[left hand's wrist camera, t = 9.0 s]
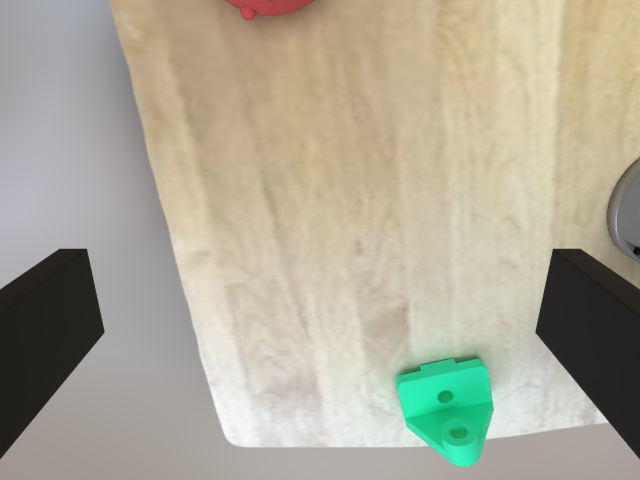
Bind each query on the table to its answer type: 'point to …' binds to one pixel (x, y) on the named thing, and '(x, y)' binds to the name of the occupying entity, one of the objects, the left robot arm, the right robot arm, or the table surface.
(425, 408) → the camera mount
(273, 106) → the table surface
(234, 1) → the toy
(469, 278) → the table surface
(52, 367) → the left robot arm
